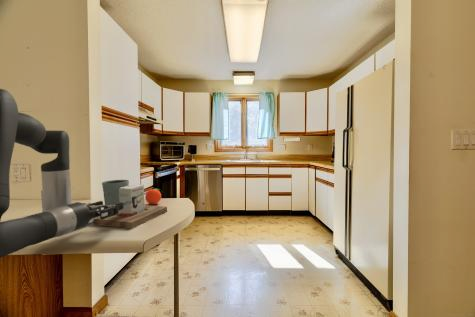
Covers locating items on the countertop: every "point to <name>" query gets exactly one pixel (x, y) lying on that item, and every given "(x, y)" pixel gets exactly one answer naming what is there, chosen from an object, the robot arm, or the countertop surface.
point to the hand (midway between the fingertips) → (112, 204)
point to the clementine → (153, 196)
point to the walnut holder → (131, 218)
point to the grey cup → (113, 190)
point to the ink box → (132, 200)
